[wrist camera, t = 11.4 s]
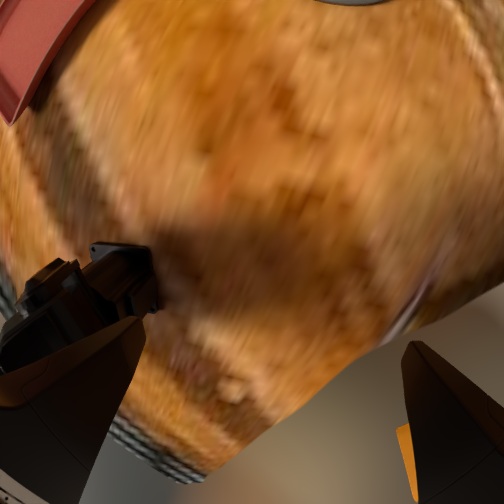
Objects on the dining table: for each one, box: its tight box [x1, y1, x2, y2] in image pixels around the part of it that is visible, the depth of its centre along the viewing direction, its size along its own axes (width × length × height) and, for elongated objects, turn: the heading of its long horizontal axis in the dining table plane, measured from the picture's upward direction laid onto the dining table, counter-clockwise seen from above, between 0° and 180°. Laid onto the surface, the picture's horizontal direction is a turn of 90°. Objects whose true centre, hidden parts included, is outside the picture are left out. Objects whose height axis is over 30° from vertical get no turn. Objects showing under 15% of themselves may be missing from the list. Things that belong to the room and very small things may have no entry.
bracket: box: [396, 423, 418, 502], centre depth 24 cm, size 11×7×12 cm, turn 38°
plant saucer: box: [0, 0, 96, 126], centre depth 13 cm, size 18×18×3 cm
